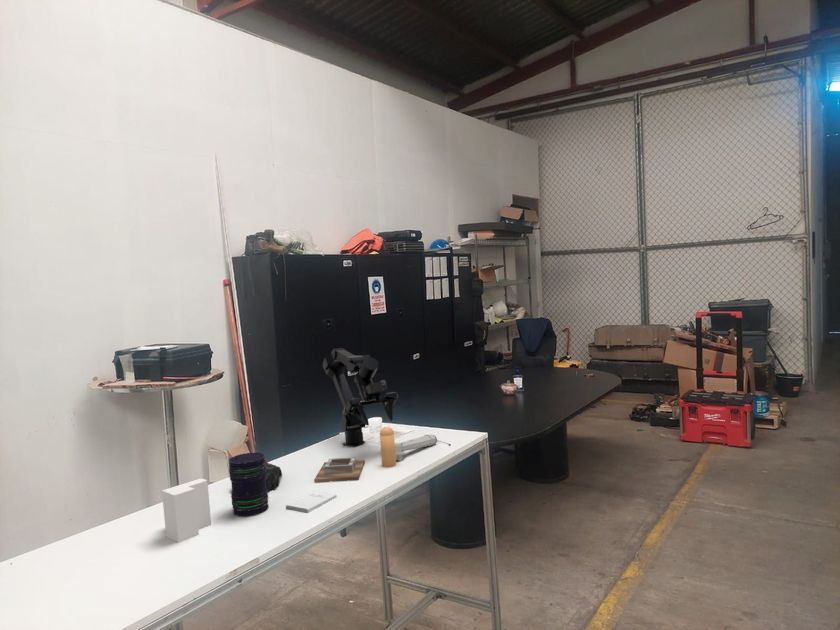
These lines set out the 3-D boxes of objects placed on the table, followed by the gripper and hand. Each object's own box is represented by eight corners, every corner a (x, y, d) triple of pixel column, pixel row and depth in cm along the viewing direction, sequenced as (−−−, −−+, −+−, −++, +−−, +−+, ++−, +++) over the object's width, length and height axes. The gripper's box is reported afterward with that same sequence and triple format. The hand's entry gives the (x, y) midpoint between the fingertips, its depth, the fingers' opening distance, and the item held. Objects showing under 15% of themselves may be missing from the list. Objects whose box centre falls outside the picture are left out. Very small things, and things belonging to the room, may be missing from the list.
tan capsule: (379, 466, 197) (376, 428, 196) (388, 462, 201) (385, 424, 200) (390, 467, 194) (387, 429, 193) (399, 463, 198) (396, 426, 197)
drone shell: (255, 499, 173) (253, 473, 173) (211, 491, 183) (209, 466, 183) (304, 477, 191) (302, 453, 191) (262, 471, 201) (260, 448, 201)
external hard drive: (286, 510, 163) (315, 495, 174) (308, 514, 159) (337, 499, 170) (285, 504, 163) (315, 490, 174) (307, 509, 159) (336, 493, 170)
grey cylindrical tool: (438, 434, 219) (395, 442, 199) (438, 452, 218) (395, 462, 198) (427, 433, 222) (384, 440, 202) (427, 451, 221) (383, 460, 201)
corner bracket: (178, 542, 145) (174, 495, 145) (157, 532, 153) (153, 487, 152) (217, 527, 153) (213, 482, 153) (196, 518, 161) (192, 475, 160)
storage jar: (272, 502, 169) (268, 451, 169) (265, 515, 160) (261, 461, 159) (237, 505, 169) (233, 454, 168) (228, 518, 159) (223, 464, 158)
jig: (324, 465, 202) (324, 455, 202) (364, 462, 202) (364, 452, 202) (314, 482, 184) (313, 472, 184) (358, 479, 184) (357, 469, 184)
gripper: (347, 376, 203) (361, 415, 194) (395, 370, 212) (410, 406, 203) (340, 394, 210) (353, 432, 202) (386, 387, 219) (401, 422, 211)
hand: (380, 422), depth 204 cm, fingers open, 9 cm apart
